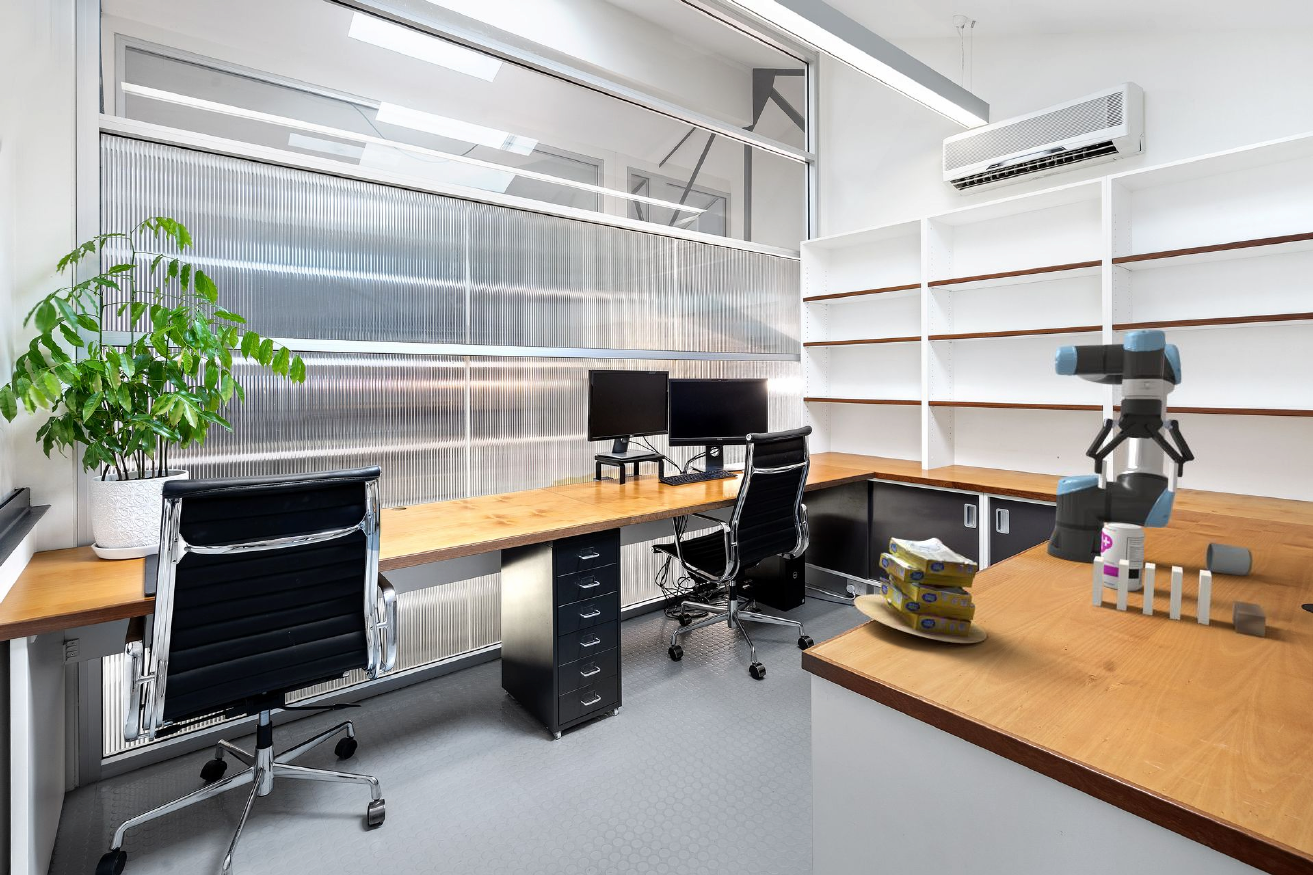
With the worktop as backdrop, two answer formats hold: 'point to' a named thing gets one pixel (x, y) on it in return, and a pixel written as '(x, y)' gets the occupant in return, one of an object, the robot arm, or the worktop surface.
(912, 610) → the plate with stacked boxes
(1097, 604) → the domino
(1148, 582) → the domino
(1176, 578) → the domino
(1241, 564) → the ceramic mug
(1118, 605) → the domino
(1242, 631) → the end block
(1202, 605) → the domino
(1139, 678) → the worktop surface
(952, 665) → the worktop surface
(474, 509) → the worktop surface
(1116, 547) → the supplement can
